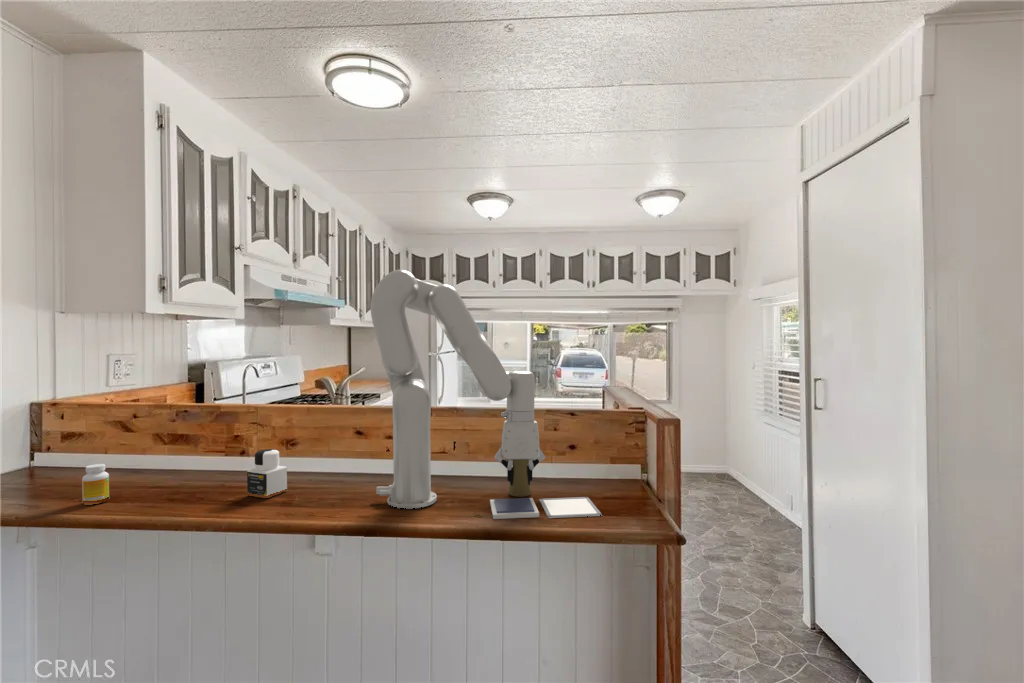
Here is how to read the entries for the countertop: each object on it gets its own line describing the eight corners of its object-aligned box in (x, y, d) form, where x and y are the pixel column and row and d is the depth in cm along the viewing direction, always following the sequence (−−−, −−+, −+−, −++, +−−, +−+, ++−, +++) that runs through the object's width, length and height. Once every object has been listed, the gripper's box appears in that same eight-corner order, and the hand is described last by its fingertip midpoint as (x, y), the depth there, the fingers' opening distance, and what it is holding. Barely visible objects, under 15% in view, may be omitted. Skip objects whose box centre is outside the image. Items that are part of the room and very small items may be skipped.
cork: (528, 497, 135) (529, 456, 134) (506, 495, 136) (507, 454, 136) (532, 490, 140) (532, 451, 140) (511, 489, 142) (511, 449, 142)
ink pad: (493, 519, 119) (493, 513, 119) (490, 503, 130) (490, 498, 130) (539, 517, 121) (539, 511, 121) (532, 501, 131) (532, 496, 131)
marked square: (548, 518, 120) (548, 516, 120) (539, 500, 133) (539, 498, 133) (601, 515, 121) (601, 514, 121) (587, 498, 134) (587, 496, 134)
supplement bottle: (111, 502, 132) (110, 465, 132) (84, 507, 128) (83, 469, 128) (107, 497, 136) (106, 461, 136) (81, 502, 132) (80, 465, 132)
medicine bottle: (246, 496, 137) (246, 452, 137) (268, 489, 143) (268, 446, 143) (266, 499, 134) (265, 454, 134) (287, 491, 141) (287, 448, 141)
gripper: (490, 418, 133) (489, 488, 133) (553, 418, 135) (552, 487, 135) (488, 414, 141) (488, 480, 141) (548, 414, 143) (547, 479, 143)
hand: (519, 482), depth 138 cm, fingers closed on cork, 4 cm apart
